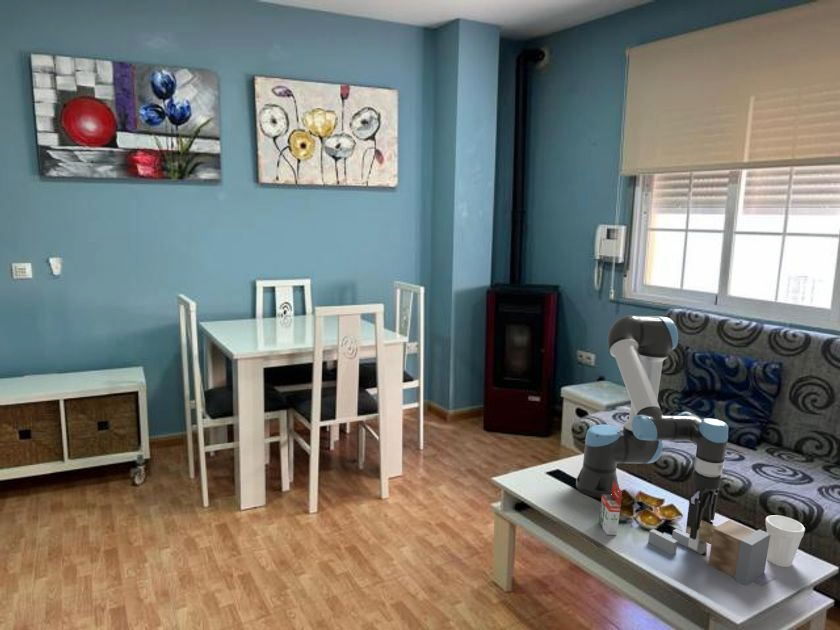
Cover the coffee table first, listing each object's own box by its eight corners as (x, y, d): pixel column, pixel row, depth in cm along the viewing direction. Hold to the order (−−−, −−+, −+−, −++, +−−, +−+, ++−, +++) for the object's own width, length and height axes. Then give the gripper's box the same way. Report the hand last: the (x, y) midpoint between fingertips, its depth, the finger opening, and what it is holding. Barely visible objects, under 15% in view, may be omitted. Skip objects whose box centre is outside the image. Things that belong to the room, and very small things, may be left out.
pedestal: (647, 545, 185) (649, 530, 185) (651, 544, 187) (653, 528, 186) (671, 558, 179) (674, 542, 178) (675, 556, 180) (677, 541, 180)
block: (708, 564, 175) (713, 528, 173) (724, 555, 180) (729, 520, 179) (736, 578, 169) (742, 541, 167) (751, 568, 174) (757, 532, 172)
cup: (752, 553, 184) (759, 513, 182) (786, 556, 184) (792, 516, 182) (770, 573, 175) (777, 531, 172) (805, 575, 174) (813, 533, 172)
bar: (685, 532, 183) (687, 520, 182) (692, 528, 185) (694, 516, 185) (732, 554, 172) (734, 541, 171) (739, 550, 174) (741, 537, 174)
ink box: (606, 535, 190) (611, 491, 188) (597, 522, 198) (602, 480, 196) (617, 535, 191) (622, 491, 188) (608, 522, 198) (613, 480, 196)
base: (660, 545, 186) (665, 506, 184) (679, 535, 193) (684, 497, 190) (746, 590, 166) (753, 546, 163) (765, 577, 172) (772, 534, 170)
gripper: (704, 483, 170) (693, 560, 174) (734, 470, 180) (723, 543, 184) (679, 473, 176) (669, 547, 180) (710, 461, 186) (699, 532, 190)
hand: (697, 545), depth 182 cm, fingers closed on bar, 4 cm apart
